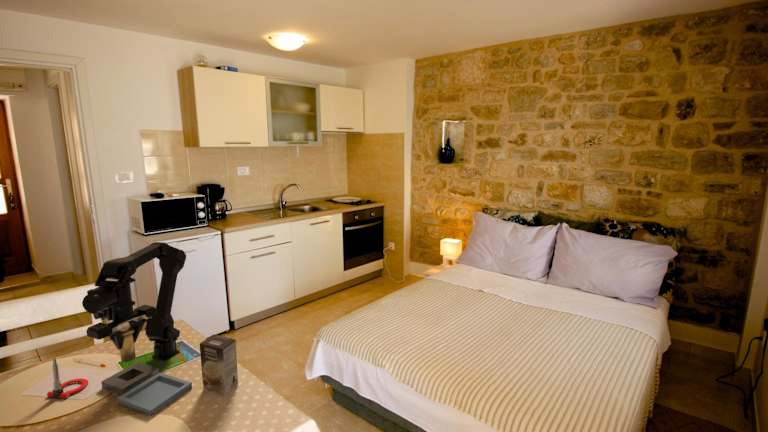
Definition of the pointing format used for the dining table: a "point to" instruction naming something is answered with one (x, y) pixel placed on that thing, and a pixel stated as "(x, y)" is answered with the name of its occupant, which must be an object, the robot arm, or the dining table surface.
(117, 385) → the block
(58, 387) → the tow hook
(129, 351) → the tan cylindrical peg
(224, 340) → the coffee box
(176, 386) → the tray
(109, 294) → the robot arm
